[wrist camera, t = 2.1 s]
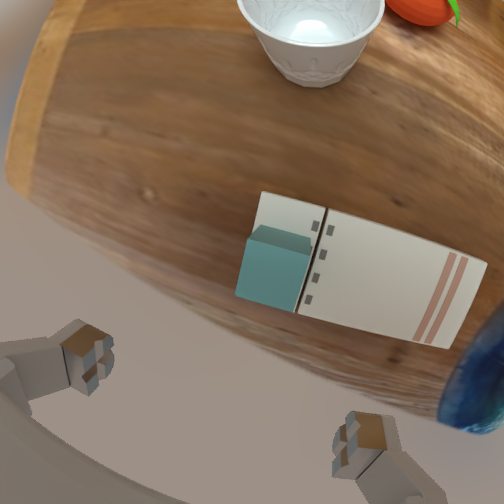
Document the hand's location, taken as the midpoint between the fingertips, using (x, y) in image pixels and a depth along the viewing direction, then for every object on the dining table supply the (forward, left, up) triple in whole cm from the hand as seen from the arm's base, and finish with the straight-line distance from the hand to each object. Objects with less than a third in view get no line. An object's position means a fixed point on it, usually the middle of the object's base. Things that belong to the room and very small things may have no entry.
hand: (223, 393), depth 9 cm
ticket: (-11, 0, -17) cm, 20 cm away
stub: (0, 0, -17) cm, 17 cm away
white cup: (+1, -17, -17) cm, 24 cm away
